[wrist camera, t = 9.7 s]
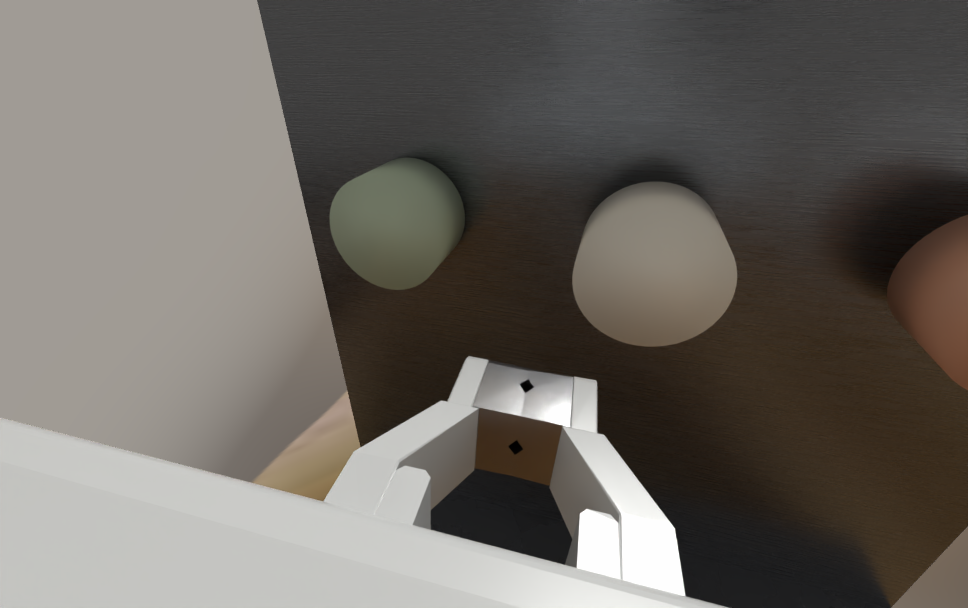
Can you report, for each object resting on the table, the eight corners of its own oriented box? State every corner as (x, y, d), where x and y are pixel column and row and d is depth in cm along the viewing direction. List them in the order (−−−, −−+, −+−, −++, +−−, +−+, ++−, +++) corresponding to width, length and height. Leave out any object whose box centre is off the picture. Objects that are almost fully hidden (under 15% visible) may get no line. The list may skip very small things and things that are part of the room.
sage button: (443, 296, 18) (435, 179, 15) (341, 282, 19) (318, 171, 17) (466, 265, 20) (462, 160, 18) (374, 254, 22) (359, 154, 19)
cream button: (713, 357, 14) (759, 216, 12) (566, 334, 15) (579, 202, 13) (702, 310, 17) (738, 186, 14) (575, 294, 18) (588, 177, 15)
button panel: (911, 715, 21) (2592, -549, 4) (340, 537, 29) (125, -145, 12) (824, 502, 31) (1224, -137, 14) (414, 413, 39) (352, -63, 22)
